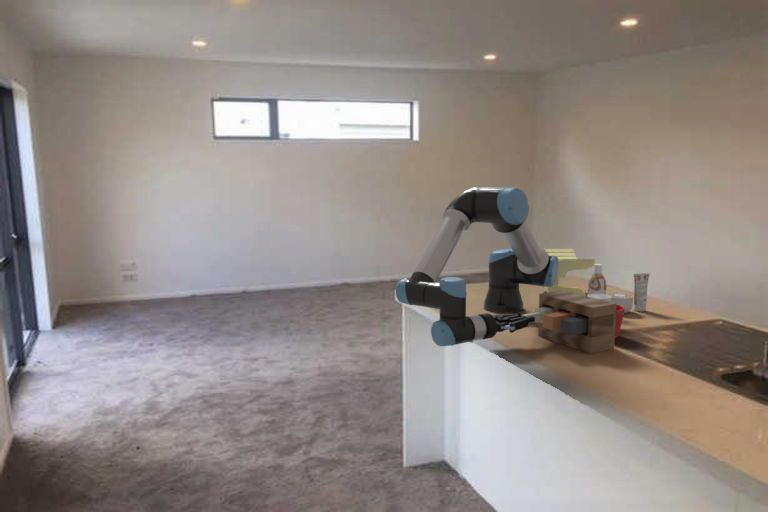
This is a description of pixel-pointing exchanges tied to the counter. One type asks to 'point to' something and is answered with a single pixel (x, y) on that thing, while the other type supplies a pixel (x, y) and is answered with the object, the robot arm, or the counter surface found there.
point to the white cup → (600, 297)
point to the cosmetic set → (626, 300)
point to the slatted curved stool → (567, 268)
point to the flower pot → (618, 319)
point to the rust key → (554, 319)
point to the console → (578, 305)
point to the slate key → (574, 325)
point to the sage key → (544, 311)
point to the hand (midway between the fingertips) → (538, 316)
